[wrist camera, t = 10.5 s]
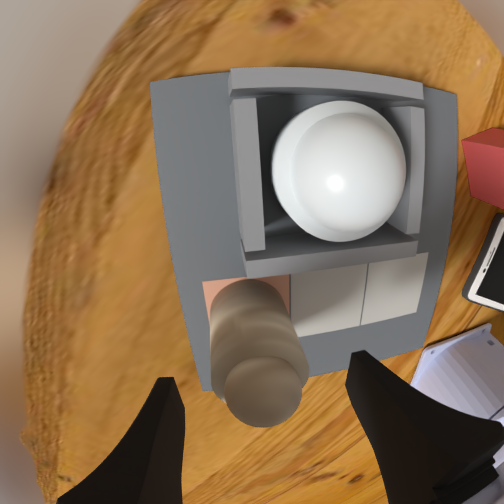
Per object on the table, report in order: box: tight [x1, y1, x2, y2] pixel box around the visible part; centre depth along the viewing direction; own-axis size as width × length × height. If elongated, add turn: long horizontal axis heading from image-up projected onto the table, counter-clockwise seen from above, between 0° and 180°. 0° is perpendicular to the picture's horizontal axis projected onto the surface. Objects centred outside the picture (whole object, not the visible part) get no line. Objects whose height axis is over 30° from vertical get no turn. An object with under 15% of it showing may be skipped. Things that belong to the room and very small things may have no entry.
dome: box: [269, 101, 406, 242], centre depth 11 cm, size 6×6×5 cm
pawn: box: [210, 279, 309, 427], centre depth 12 cm, size 4×4×7 cm
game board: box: [150, 67, 458, 391], centre depth 14 cm, size 16×18×4 cm
